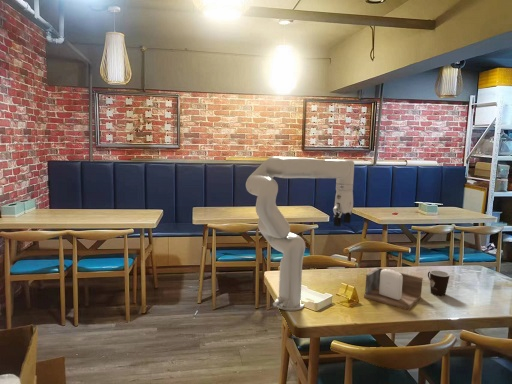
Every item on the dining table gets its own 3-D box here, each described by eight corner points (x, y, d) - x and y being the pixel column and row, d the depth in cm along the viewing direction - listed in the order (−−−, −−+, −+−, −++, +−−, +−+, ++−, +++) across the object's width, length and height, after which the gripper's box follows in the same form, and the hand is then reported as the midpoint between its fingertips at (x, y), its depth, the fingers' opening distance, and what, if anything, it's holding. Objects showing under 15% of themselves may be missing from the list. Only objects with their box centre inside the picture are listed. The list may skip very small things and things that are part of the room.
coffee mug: (449, 298, 186) (451, 277, 185) (430, 296, 188) (432, 275, 187) (443, 288, 198) (445, 269, 196) (425, 287, 199) (426, 267, 198)
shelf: (408, 309, 172) (409, 286, 171) (363, 297, 184) (365, 275, 183) (420, 297, 186) (422, 275, 185) (379, 286, 198) (380, 266, 197)
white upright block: (377, 294, 185) (379, 268, 183) (382, 291, 188) (383, 266, 186) (398, 301, 177) (400, 274, 176) (402, 298, 180) (404, 272, 179)
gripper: (343, 189, 172) (340, 228, 174) (360, 186, 185) (358, 222, 188) (327, 188, 177) (325, 226, 179) (345, 185, 190) (343, 220, 192)
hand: (342, 224), depth 183 cm, fingers open, 9 cm apart
